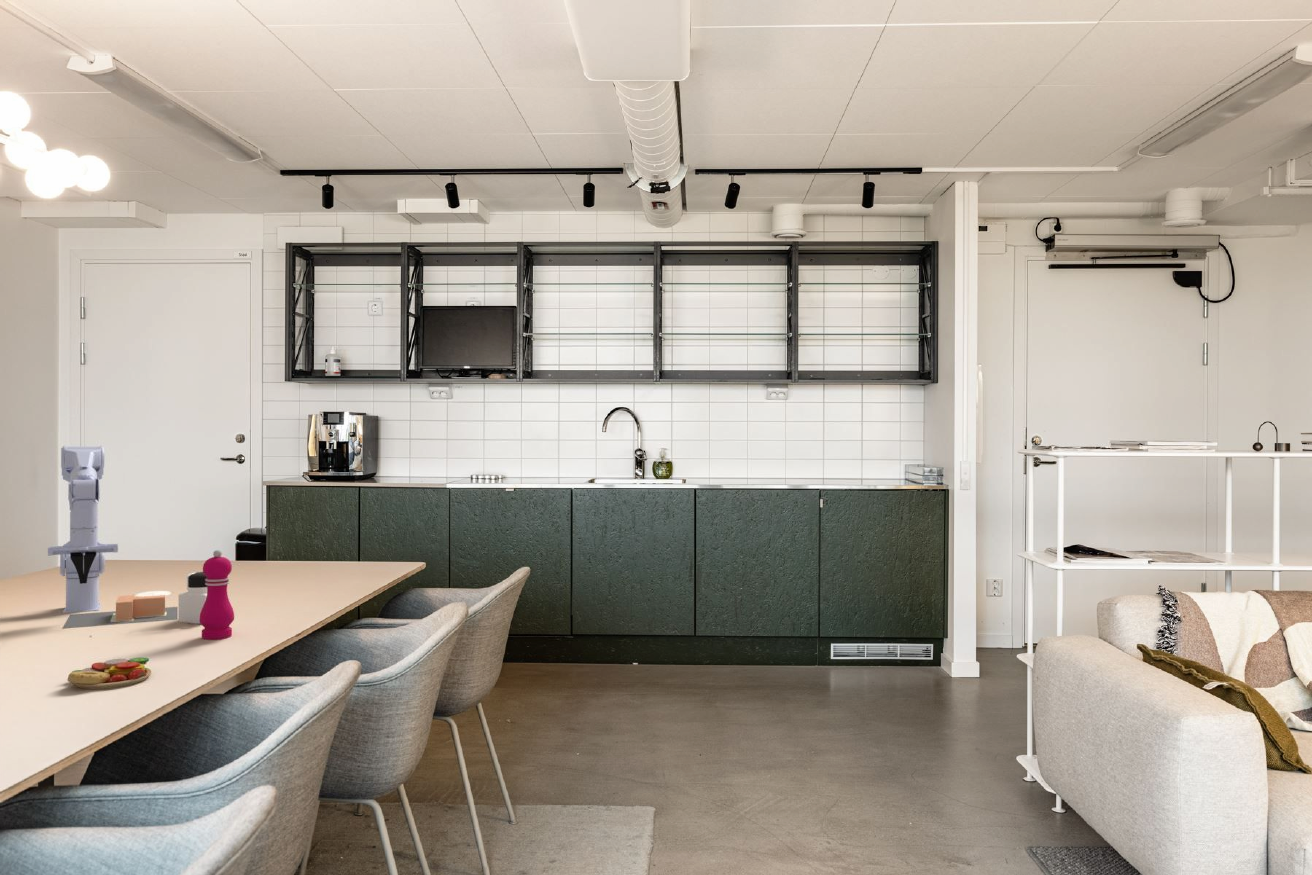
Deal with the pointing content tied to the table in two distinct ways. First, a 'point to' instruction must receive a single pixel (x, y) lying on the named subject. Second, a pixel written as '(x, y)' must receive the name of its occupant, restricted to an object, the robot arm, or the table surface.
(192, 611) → the medicine bottle
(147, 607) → the t block
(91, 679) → the toy food set
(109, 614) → the mat
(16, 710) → the table surface
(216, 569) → the pepper mill
